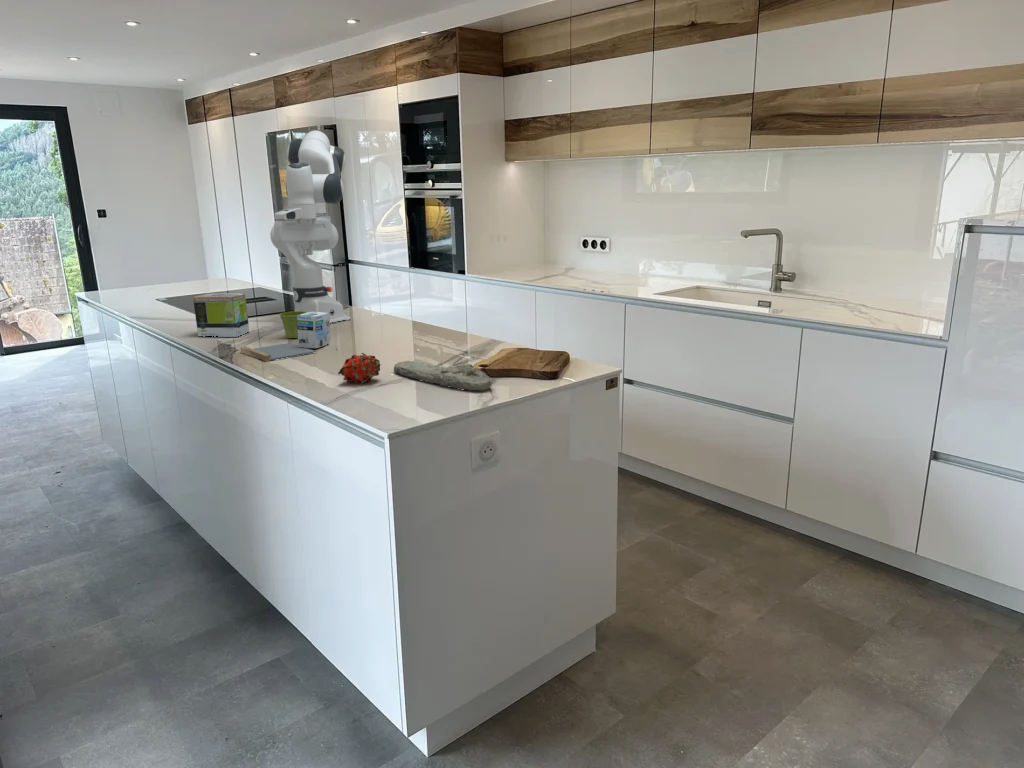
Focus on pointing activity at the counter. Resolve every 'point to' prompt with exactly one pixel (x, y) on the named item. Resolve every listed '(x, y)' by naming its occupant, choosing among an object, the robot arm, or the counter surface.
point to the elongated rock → (445, 375)
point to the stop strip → (256, 353)
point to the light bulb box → (313, 329)
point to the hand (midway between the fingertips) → (305, 255)
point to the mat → (284, 350)
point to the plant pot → (291, 323)
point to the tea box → (221, 314)
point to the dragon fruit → (360, 368)
